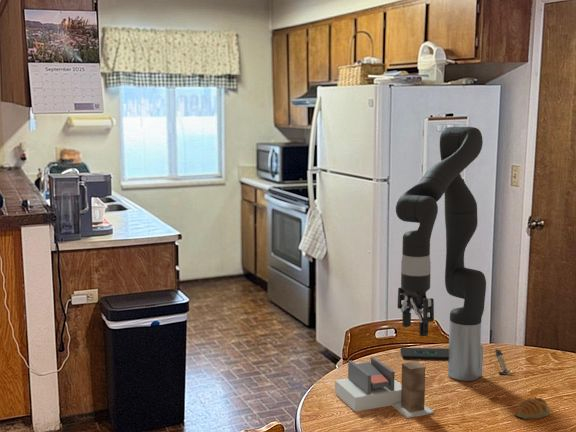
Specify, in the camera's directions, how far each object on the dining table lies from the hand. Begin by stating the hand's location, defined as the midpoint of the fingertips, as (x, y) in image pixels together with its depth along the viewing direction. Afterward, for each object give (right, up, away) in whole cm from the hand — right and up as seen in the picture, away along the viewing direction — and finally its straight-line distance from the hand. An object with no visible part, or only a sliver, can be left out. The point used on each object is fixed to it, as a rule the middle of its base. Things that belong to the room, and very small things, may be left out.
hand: (414, 330), depth 183 cm
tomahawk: (+36, -17, +37) cm, 54 cm away
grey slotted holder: (-10, -21, +11) cm, 26 cm away
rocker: (-10, -14, +10) cm, 20 cm away
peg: (0, -21, +3) cm, 22 cm away
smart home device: (+14, -16, +45) cm, 49 cm away
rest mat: (0, -22, +3) cm, 22 cm away
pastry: (+31, -23, +1) cm, 39 cm away
